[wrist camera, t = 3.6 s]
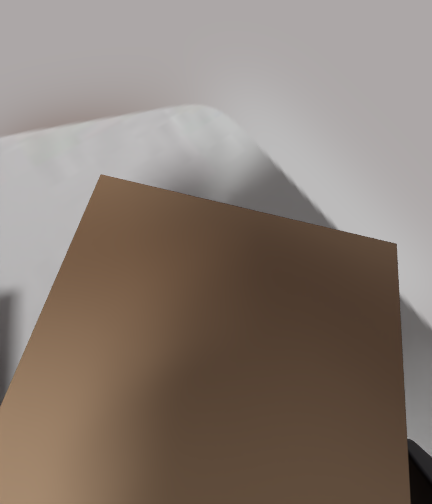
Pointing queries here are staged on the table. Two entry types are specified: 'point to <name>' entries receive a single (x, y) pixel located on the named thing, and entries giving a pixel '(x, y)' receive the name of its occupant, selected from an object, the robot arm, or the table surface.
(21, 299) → the table surface
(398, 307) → the walnut block
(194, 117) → the table surface
